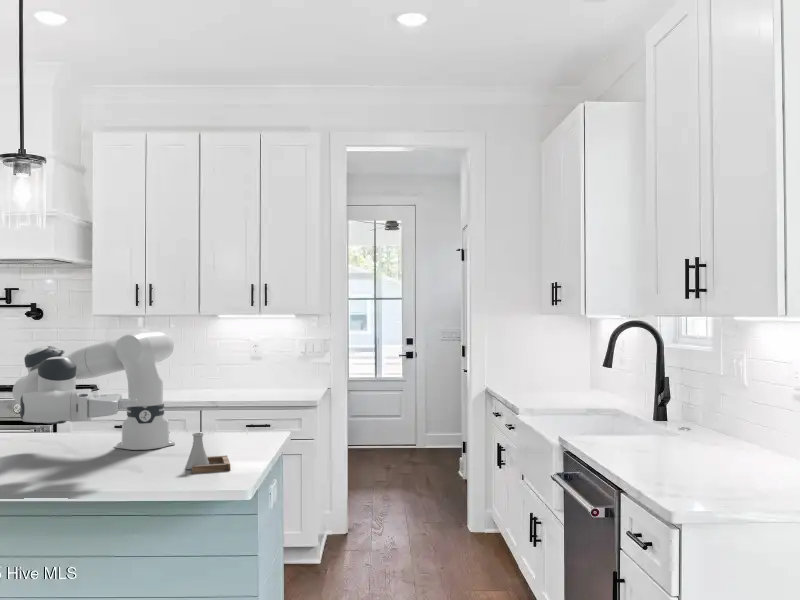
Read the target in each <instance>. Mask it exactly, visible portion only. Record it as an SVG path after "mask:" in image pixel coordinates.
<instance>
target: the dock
mask: <svg viewBox="0 0 800 600" xmlns="http://www.w3.org/2000/svg"><path fill="white" fill-rule="evenodd" d="M207 458H208V461H209V464H210V465H196V466H192V469H191V473H192V474H202V473H214V472H229V471H231V463H230V460H229V457H228V455H216V456H215V455H213V456H211V455H210V456H207Z"/></svg>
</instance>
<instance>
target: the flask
mask: <svg viewBox="0 0 800 600" xmlns="http://www.w3.org/2000/svg"><path fill="white" fill-rule="evenodd" d="M191 434H192V437H193V440H192V441H193V442H192V447H191V450H190V453H189V456H188V459H187V462H186V464H185V470H192V466H196V465H210V464H209V461H208V458H207V457H208V456H207V453H206V450H205V447H204V442H203V436H204V433H203V432H193V433H191Z"/></svg>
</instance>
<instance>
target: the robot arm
mask: <svg viewBox="0 0 800 600" xmlns="http://www.w3.org/2000/svg"><path fill="white" fill-rule="evenodd" d="M174 349H175V348H174V341H173V338H172V337H171V335H169V334H167V333H165V332H162V331H158V330H151V331H150V330H149V331H148V330H146V331H132V332H129V333H127V334H125V335H122V336H121V337H120V338H115V339H111V340H106V341H103V342H99V343H95V344H91V345H88V346H84V347H82V348H79V349H77V350H75V351H72V352H71V353H69V354H66V355H63V354H65V350H63V349H62V350H61V349H58V348H57V347H55V346H51V345H46V346H38V347H34V348H33V349H31V351H29V352H28V353H27V354H26V355H25V356H24V359H23V360H24V365H25V368H27V372H28V373H27V375H24V376H22V377H21V378H18V380H16V381H15V383H14V384H13V387H12V397H13V398H14V401H15V402H16V404H18V406H19V407H20V408H19V409H20V411H19V413H20V419H21V421H22V422H25V423H37V424H39V423H40V424H41V423H43V424H46V425H57V424H60V425H61V424H66V423H67V422H90V421H91V420H92V419H94V418H101V417H102V418H103V417H111V416H114V415H117V414H118V412H119V410H120V409H126V416H127V418H125V420H124V421H123V422H122V424H121V441H119V443H117V444H116V445H115V449H122V450H123V449H125V450H132V451H134V450H135V451H139V450H140V451H141V450H142V451H143V450H154V449H160V448H165V447H169V446H174V445H176V442H175V440H173V439H172V438H171V437H170V434H171V433H170V425H169V424H170V423H169V420H168V419H167V418H166V417H165V416H164V415H165V410H166V409H165V403H164V384H163V383H164V382H163V379H162V378H161V377H160V375H159V373H158V370H157V365H156V363H159V362H162V361H164V360H166V359H168V358H169V357H170V356H171V355H172V354H173V351H174ZM121 371H125V376H126V379H127V393H128V398H123V395H122V394H121V393H106V394H104V393H102V394H98V392H94V393H93V392H92V389H91V388H82V389H81V388H79V389H76V385H77V384H76V380H86V379H93V378H98V377H102V376H106V375H110V374H114V373H117V372H121Z"/></svg>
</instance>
